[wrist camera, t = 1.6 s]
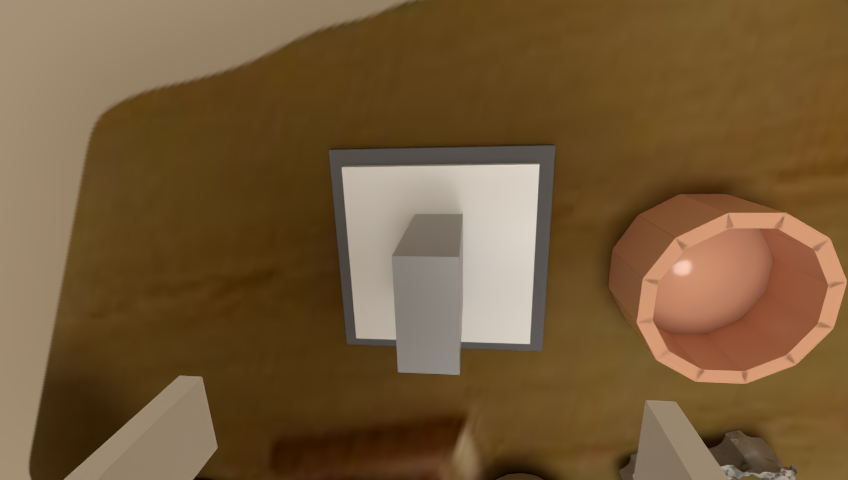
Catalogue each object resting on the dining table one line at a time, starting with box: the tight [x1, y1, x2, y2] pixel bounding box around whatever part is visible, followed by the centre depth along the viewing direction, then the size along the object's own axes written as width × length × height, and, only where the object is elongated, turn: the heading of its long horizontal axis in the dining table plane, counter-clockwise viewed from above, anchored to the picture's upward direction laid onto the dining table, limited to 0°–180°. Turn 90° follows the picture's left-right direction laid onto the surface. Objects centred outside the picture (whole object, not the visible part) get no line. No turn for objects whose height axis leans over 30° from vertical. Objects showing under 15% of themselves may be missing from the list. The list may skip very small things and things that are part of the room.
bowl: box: [608, 194, 847, 384], centre depth 24 cm, size 10×10×5 cm
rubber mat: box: [329, 145, 555, 351], centre depth 28 cm, size 14×14×1 cm
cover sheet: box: [342, 163, 540, 375], centre depth 23 cm, size 12×12×9 cm
